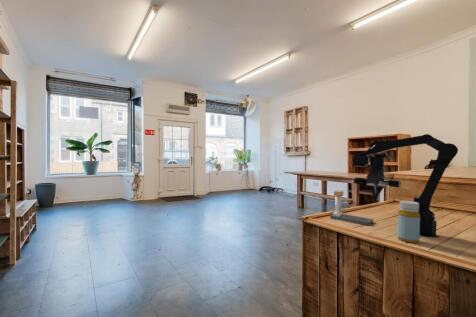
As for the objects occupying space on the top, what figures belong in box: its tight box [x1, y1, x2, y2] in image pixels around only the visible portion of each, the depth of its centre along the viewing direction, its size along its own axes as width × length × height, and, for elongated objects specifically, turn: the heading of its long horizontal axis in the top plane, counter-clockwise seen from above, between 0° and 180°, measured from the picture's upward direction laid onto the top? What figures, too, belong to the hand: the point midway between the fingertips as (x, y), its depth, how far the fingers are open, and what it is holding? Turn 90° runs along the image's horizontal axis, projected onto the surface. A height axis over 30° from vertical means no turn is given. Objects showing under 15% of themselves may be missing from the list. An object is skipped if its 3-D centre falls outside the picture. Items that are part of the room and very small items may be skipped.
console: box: [329, 213, 374, 226], centre depth 122 cm, size 18×9×2 cm, turn 47°
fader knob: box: [332, 190, 344, 216], centre depth 127 cm, size 4×5×12 cm
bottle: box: [396, 200, 421, 244], centre depth 93 cm, size 7×7×15 cm
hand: (375, 200), depth 114 cm, fingers closed
